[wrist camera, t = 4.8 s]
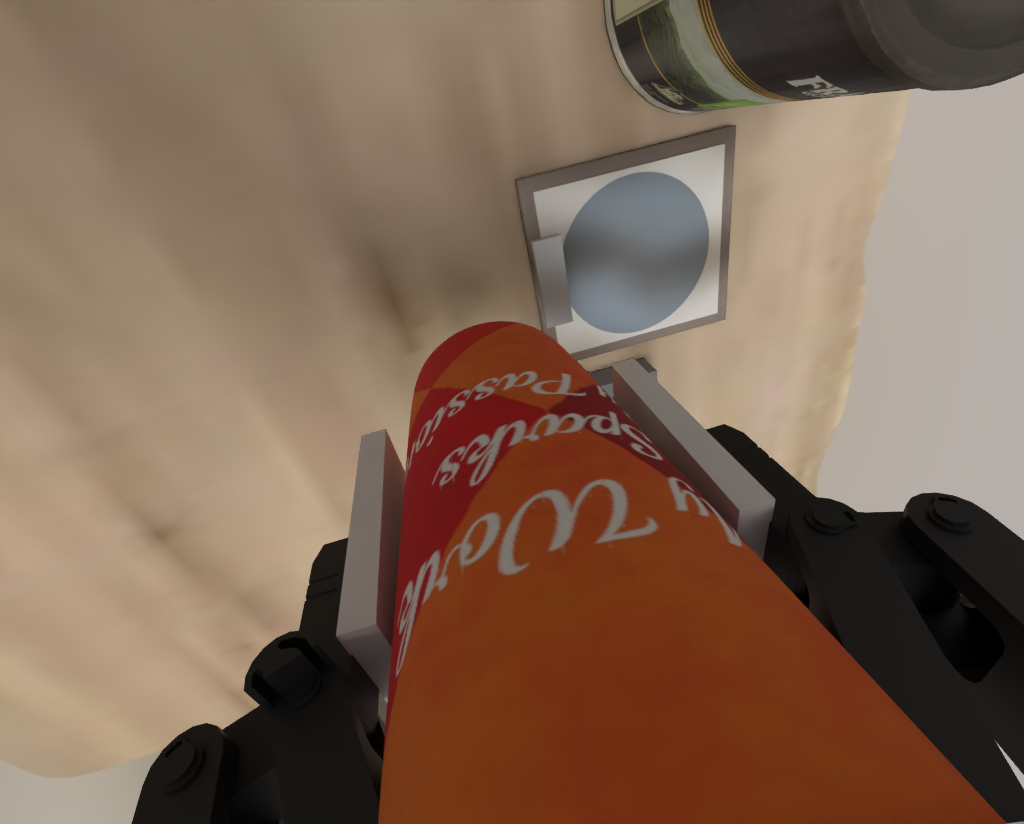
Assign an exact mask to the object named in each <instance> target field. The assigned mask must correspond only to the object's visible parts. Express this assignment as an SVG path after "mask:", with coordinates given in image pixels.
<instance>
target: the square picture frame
mask: <svg viewBox="0 0 1024 824" xmlns="http://www.w3.org/2000/svg"><path fill="white" fill-rule="evenodd" d="M735 134H736V125H731V126H726V127H722V128H718V129H714V130H710V131H706V132H702V133H698V134H694V135H690V136H686V137H682V138H678V139H674V140H670V141H666V142H662V143H658V144H655V145H651V146H647V147H643V148H639V149H635V150H631V151H627V152H623V153H619V154H615V155H611V156H607V157H603V158H599V159H595V160H591V161H588V162H584V163H580V164H576V165H572V166H568V167H564V168H560V169H556V170H552V171H548V172H544V173H540V174H536V175H532V176H528V177H524V178H521V179H517V180H515V183H516V189H517V195H518V200H519V206H520V211H521V217H522V222H523V228H524V233H525V239H526V244H527V250H528V255H529V261H530V266H531V272H532V278H533V283H534V289H535V294H536V300H537V305H538V311H539V316H540V322H541V327H542V332H543V333H545V334H547V335H548V336H550V337H551V338H553V339H554V340H555V341H556V342H557V343H558V344H560V345H561V346H562V347H563V348H564V349H565V350H566V351H567V352H568V353H569V354H570V355H571V356H572V357H573V358H574V359H575V360H576V361H577V360H581V359H584V358H588V357H592V356H595V355H599V354H602V353H606V352H610V351H613V350H617V349H620V348H624V347H628V346H631V345H635V344H638V343H642V342H645V341H649V340H653V339H656V338H660V337H663V336H667V335H671V334H674V333H678V332H681V331H685V330H689V329H692V328H696V327H699V326H703V325H707V324H710V323H714V322H717V321H721V320H725V315H726V297H727V279H728V261H729V243H730V225H731V206H732V188H733V170H734V152H735Z"/></svg>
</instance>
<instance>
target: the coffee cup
mask: <svg viewBox="0 0 1024 824" xmlns="http://www.w3.org/2000/svg"><path fill="white" fill-rule="evenodd" d="M378 824H1007V823H1006V822H1005V821H1004V820H1003V819H1002V818H1001V817H1000V816H999V815H998V813H997V812H996V811H995V810H994V809H993V808H992V807H991V806H990V805H989V804H988V803H987V802H986V801H985V799H984V798H983V797H982V796H981V795H980V794H979V793H978V792H977V791H976V790H975V789H974V788H973V786H972V785H971V784H970V783H969V782H968V781H967V780H966V779H965V778H964V777H963V776H962V775H961V774H960V772H959V771H958V770H957V769H956V768H955V767H954V766H953V765H952V764H951V763H950V762H949V761H948V760H947V758H946V757H945V756H944V755H943V754H942V753H941V752H940V751H939V750H938V749H937V748H936V747H935V746H934V744H933V743H932V742H931V741H930V740H929V739H928V738H927V737H926V736H925V735H924V734H923V733H922V732H921V730H920V729H919V728H918V727H917V726H916V725H915V724H914V723H913V722H912V721H911V720H910V719H909V717H908V716H907V715H906V714H905V713H904V712H903V711H902V710H901V709H900V708H899V707H898V706H897V705H896V703H895V702H894V701H893V700H892V699H891V698H890V697H889V696H888V695H887V694H886V693H885V692H884V691H883V689H882V688H881V687H880V686H879V685H878V684H877V683H876V682H875V681H874V680H873V679H872V678H871V677H870V675H869V674H868V673H867V672H866V671H865V670H864V669H863V668H862V667H861V666H860V665H859V664H858V663H857V661H856V660H855V659H854V658H853V657H852V656H851V655H850V654H849V653H848V652H847V651H846V650H845V648H844V647H843V646H842V645H841V644H840V643H839V642H838V641H837V640H836V639H835V638H834V637H833V636H832V634H831V633H830V632H829V631H828V630H827V629H826V628H825V627H824V626H823V625H822V624H821V623H820V622H819V620H818V619H817V618H816V617H815V616H814V615H813V614H812V613H811V612H810V611H809V610H808V609H807V608H806V606H805V605H804V604H803V603H802V602H801V601H800V600H799V599H798V598H797V597H796V596H795V595H794V594H793V592H792V591H791V590H790V589H789V588H788V587H787V586H786V585H785V584H784V583H783V582H782V581H781V579H780V578H779V577H778V576H777V575H776V574H775V573H774V572H773V571H772V570H771V569H770V568H769V567H768V565H767V564H766V563H765V562H764V561H763V560H762V559H761V558H760V557H759V556H758V555H757V554H756V553H755V551H754V550H753V549H752V548H751V547H750V546H749V545H748V544H747V543H746V542H745V541H744V540H743V538H742V537H741V536H740V535H739V534H738V533H737V532H736V531H735V530H734V529H733V528H732V527H731V526H730V524H729V523H728V522H727V521H726V520H725V519H724V518H723V517H722V516H721V515H720V514H719V513H718V511H717V510H716V509H715V508H714V507H713V506H712V505H711V504H710V503H709V502H708V501H707V500H706V499H705V497H704V496H703V495H702V494H701V493H700V492H699V491H698V490H697V489H696V488H695V487H694V486H693V484H692V483H691V482H690V481H689V480H688V479H687V478H686V477H685V476H684V475H683V474H682V473H681V472H680V470H679V469H678V468H677V467H676V466H675V465H674V464H673V463H672V462H671V461H670V460H669V459H668V457H667V456H666V455H665V454H664V453H663V452H662V451H661V450H660V449H659V448H658V447H657V446H656V445H655V444H654V442H653V441H652V440H651V439H650V438H649V437H648V436H647V435H646V434H645V433H644V432H643V431H642V430H641V429H640V427H639V426H638V425H637V424H636V423H635V422H634V421H633V420H632V419H631V418H630V417H629V416H628V415H627V414H626V412H625V411H624V410H623V409H622V408H621V407H620V406H619V405H618V404H617V403H616V402H615V401H614V400H613V399H612V398H611V396H610V395H609V394H608V393H607V392H606V391H605V390H604V389H603V388H602V387H601V386H600V385H599V384H598V383H597V382H596V381H595V380H594V379H593V377H592V376H591V375H590V374H589V373H588V372H587V371H586V370H585V369H584V368H583V367H582V366H581V365H580V364H579V363H578V362H577V361H576V360H575V359H574V358H573V357H572V356H571V355H570V354H569V353H568V352H567V351H566V350H565V349H564V348H563V347H562V346H561V345H560V344H558V343H557V342H556V341H555V340H554V339H553V338H551V337H550V336H548V335H547V334H545V333H543V332H542V331H540V330H538V329H536V328H534V327H531V326H528V325H525V324H521V323H516V322H505V321H499V322H488V323H483V324H479V325H475V326H472V327H469V328H466V329H464V330H462V331H460V332H458V333H456V334H454V335H453V336H451V337H450V338H448V339H447V340H446V341H444V342H443V343H442V344H441V345H440V346H439V347H437V349H436V350H435V351H434V352H433V353H432V354H431V355H430V357H429V358H428V359H427V361H426V362H425V364H424V366H423V367H422V370H421V372H420V374H419V376H418V379H417V382H416V386H415V390H414V396H413V401H412V409H411V418H410V427H409V438H408V450H407V461H406V473H405V485H404V497H403V510H402V522H401V534H400V547H399V560H398V573H397V586H396V598H395V611H394V624H393V637H392V650H391V663H390V676H389V689H388V702H387V715H386V728H385V741H384V754H383V767H382V779H381V792H380V805H379V818H378ZM1008 824H1024V822H1015V823H1008Z"/></svg>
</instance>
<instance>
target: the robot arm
mask: <svg viewBox="0 0 1024 824" xmlns="http://www.w3.org/2000/svg"><path fill="white" fill-rule="evenodd" d="M611 371H612V382H613V394H614V401H615V402H616V403H617V404H618V405H619V406H620V407H621V408H622V409H623V410H624V411H625V412H626V414H627V415H628V416H629V417H630V418H631V419H632V420H633V421H634V422H635V423H636V424H637V425H638V426H639V427H640V429H641V430H642V431H643V432H644V433H645V434H646V435H647V436H648V437H649V438H650V439H651V440H652V441H653V442H654V444H655V445H656V446H657V447H658V448H659V449H660V450H661V451H662V452H663V453H664V454H665V455H666V456H667V457H668V459H669V460H670V461H671V462H672V463H673V464H674V465H675V466H676V467H677V468H678V469H679V470H680V472H681V473H682V474H683V475H684V476H685V477H686V478H687V479H688V480H689V481H690V482H691V483H692V484H693V486H694V487H695V488H696V489H697V490H698V491H699V492H700V493H701V494H702V495H703V496H704V497H705V499H706V500H707V501H708V502H709V503H710V504H711V505H712V506H713V507H714V508H715V509H716V510H717V511H718V513H719V514H720V515H721V516H722V517H723V518H724V519H725V520H726V521H727V522H728V523H729V524H730V526H731V527H732V528H733V529H734V530H735V531H736V532H737V533H738V534H739V535H740V536H741V537H742V538H743V540H744V541H745V542H746V543H747V544H748V545H749V546H750V547H751V548H752V549H753V550H754V551H755V553H756V554H757V555H758V556H759V557H760V558H761V559H762V560H763V561H764V562H765V563H766V564H767V565H768V567H769V568H770V569H771V570H772V571H773V572H774V573H775V574H776V575H777V576H778V577H779V578H780V579H781V581H782V582H783V583H784V584H785V585H786V586H787V587H788V588H789V589H790V590H791V591H792V592H793V594H794V595H795V596H796V597H797V598H798V599H799V600H800V601H801V602H802V603H803V604H804V605H805V606H806V608H807V609H808V610H809V611H810V612H811V613H812V614H813V615H814V616H815V617H816V618H817V619H818V620H819V622H820V623H821V624H822V625H823V626H824V627H825V628H826V629H827V630H828V631H829V632H830V633H831V634H832V636H833V637H834V638H835V639H836V640H837V641H838V642H839V643H840V644H841V645H842V646H843V647H844V648H845V650H846V651H847V652H848V653H849V654H850V655H851V656H852V657H853V658H854V659H855V660H856V661H857V663H858V664H859V665H860V666H861V667H862V668H863V669H864V670H865V671H866V672H867V673H868V674H869V675H870V677H871V678H872V679H873V680H874V681H875V682H876V683H877V684H878V685H879V686H880V687H881V688H882V689H883V691H884V692H885V693H886V694H887V695H888V696H889V697H890V698H891V699H892V700H893V701H894V702H895V703H896V705H897V706H898V707H899V708H900V709H901V710H902V711H903V712H904V713H905V714H906V715H907V716H908V717H909V719H910V720H911V721H912V722H913V723H914V724H915V725H916V726H917V727H918V728H919V729H920V730H921V732H922V733H923V734H924V735H925V736H926V737H927V738H928V739H929V740H930V741H931V742H932V743H933V744H934V746H935V747H936V748H937V749H938V750H939V751H940V752H941V753H942V754H943V755H944V756H945V757H946V758H947V760H948V761H949V762H950V763H951V764H952V765H953V766H954V767H955V768H956V769H957V770H958V771H959V772H960V774H961V775H962V776H963V777H964V778H965V779H966V780H967V781H968V782H969V783H970V784H971V785H972V786H973V788H974V789H975V790H976V791H977V792H978V793H979V794H980V795H981V796H982V797H983V798H984V799H985V801H986V802H987V803H988V804H989V805H990V806H991V807H992V808H993V809H994V810H995V811H996V812H997V813H998V815H999V816H1000V817H1001V818H1002V819H1003V820H1004V821H1005V822H1006V823H1007V824H1008V823H1015V822H1024V789H1023V788H1022V786H1021V784H1020V782H1019V781H1018V779H1017V777H1016V776H1015V774H1014V772H1013V771H1012V769H1011V767H1010V765H1009V764H1008V762H1007V760H1006V759H1005V757H1004V755H1003V754H1002V752H1001V750H1000V749H999V747H998V745H997V743H998V744H999V746H1000V747H1001V748H1002V749H1003V750H1004V752H1005V753H1006V754H1007V755H1008V756H1009V758H1010V759H1011V760H1012V761H1013V762H1014V764H1015V765H1016V766H1017V767H1018V768H1019V770H1020V771H1021V772H1022V773H1023V774H1024V540H1022V539H1021V538H1020V537H1018V536H1017V535H1016V534H1015V533H1013V532H1012V531H1011V530H1010V529H1008V528H1007V527H1006V526H1004V525H1003V524H1002V523H1001V522H999V521H998V520H997V519H995V518H994V517H993V516H992V515H990V514H989V513H988V512H986V511H985V510H983V509H982V508H980V507H978V506H977V505H975V504H974V503H972V502H969V501H967V500H964V499H962V498H959V497H956V496H953V495H947V494H941V493H922V494H919V495H917V496H914V497H912V498H911V499H910V500H909V502H908V503H907V505H906V507H905V509H904V512H872V513H864V512H857V511H855V510H854V509H852V508H850V507H849V506H847V505H845V504H844V503H841V502H838V501H835V500H832V499H827V498H818V497H815V496H814V495H813V494H812V493H811V492H809V491H808V490H807V489H806V488H805V487H804V486H803V485H802V484H800V483H799V482H798V481H797V480H796V479H795V478H794V477H793V476H791V475H790V474H789V473H788V472H787V471H786V470H785V469H784V468H782V467H781V466H780V465H779V464H778V463H777V462H776V461H775V460H774V459H772V458H769V455H768V454H767V453H766V452H765V451H763V450H762V449H761V448H758V446H757V444H756V443H754V442H753V441H752V440H751V439H750V438H749V437H748V436H747V435H746V434H744V433H743V432H741V431H739V430H736V429H734V428H732V427H730V426H727V425H725V424H723V425H720V426H716V427H713V428H710V429H706V430H705V429H704V428H703V427H702V426H701V425H700V424H699V423H698V422H697V421H696V420H695V419H694V418H693V417H692V416H691V415H690V414H689V413H688V412H687V411H686V410H685V409H684V408H683V407H682V406H681V405H680V404H679V403H678V402H677V401H676V400H675V399H674V398H673V397H672V396H671V395H670V394H669V393H668V392H667V391H666V390H665V389H664V388H663V387H662V386H661V385H660V384H659V383H658V382H657V381H656V380H655V379H654V378H653V377H652V376H651V375H650V374H649V373H648V372H647V371H646V370H645V369H644V368H643V367H642V366H641V365H640V364H639V363H638V362H637V361H636V360H635V359H634V358H632V359H629V360H625V361H622V362H618V363H615V364H611ZM404 485H405V471H404V469H403V466H402V464H401V462H400V460H399V458H398V455H397V453H396V451H395V449H394V446H393V444H392V442H391V440H390V437H389V435H388V433H387V431H386V429H383V430H380V431H376V432H373V433H369V434H366V435H362V436H361V443H360V451H359V459H358V466H357V474H356V482H355V490H354V498H353V506H352V513H351V521H350V529H349V537H348V538H345V539H342V540H339V541H335V542H332V543H329V544H325V545H324V546H323V547H322V549H321V551H320V552H319V554H318V555H317V557H316V559H315V560H314V562H313V564H312V569H311V574H310V579H309V584H310V585H309V586H308V589H307V594H306V601H305V604H304V609H303V614H302V619H301V624H300V628H299V631H293V632H289V633H286V634H284V635H282V636H280V637H278V638H276V639H275V640H273V641H272V642H271V643H270V644H268V645H267V646H266V647H265V648H263V650H262V651H261V652H260V653H259V654H258V656H257V657H256V658H255V659H254V661H253V662H252V664H251V666H250V668H249V670H248V672H247V675H246V677H245V685H244V691H245V692H246V693H247V694H248V695H249V696H250V697H251V698H253V699H254V700H255V701H256V702H257V703H258V704H259V705H260V706H258V707H257V708H255V709H254V710H252V711H251V712H249V713H248V714H246V715H245V716H243V717H241V718H240V719H238V720H237V721H235V722H234V723H232V724H231V725H229V726H228V727H226V728H224V729H223V730H222V729H220V728H219V727H218V726H215V725H212V724H208V723H205V724H201V725H197V726H193V727H191V728H190V729H188V730H186V731H185V732H183V733H182V734H180V735H178V736H177V737H176V738H175V739H174V740H173V741H172V742H171V743H170V744H169V745H168V746H167V747H166V748H164V749H163V751H162V752H161V753H160V755H159V756H158V758H157V759H156V760H155V762H154V763H153V765H152V766H151V768H150V770H149V772H148V775H147V777H146V779H145V781H144V784H143V786H142V790H141V794H140V797H139V800H138V804H137V807H136V811H135V814H134V817H133V821H132V824H378V818H379V805H380V792H381V779H382V767H383V754H384V741H385V728H386V726H385V723H384V722H383V721H382V719H381V717H380V716H379V715H378V698H379V693H380V694H381V696H382V697H383V698H384V699H385V701H386V702H388V689H389V676H390V663H391V650H392V637H393V624H394V611H395V598H396V586H397V573H398V560H399V547H400V534H401V522H402V510H403V497H404ZM995 741H996V742H997V743H996V742H995Z"/></svg>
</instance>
